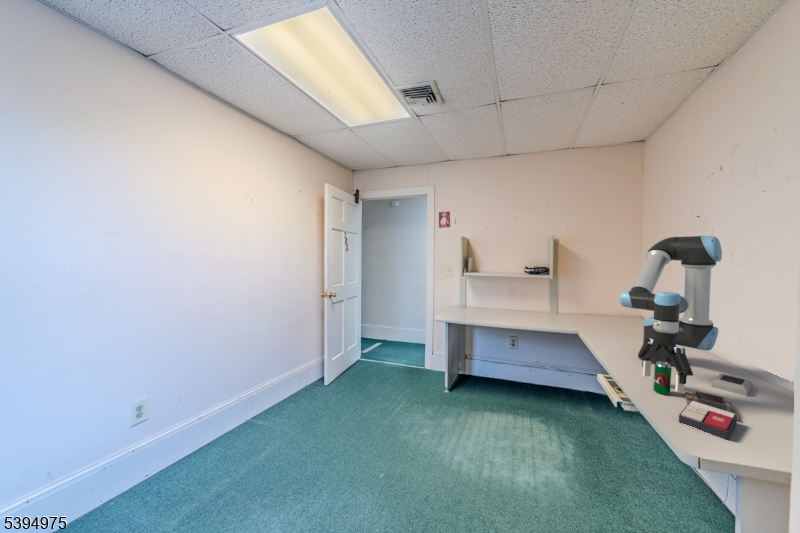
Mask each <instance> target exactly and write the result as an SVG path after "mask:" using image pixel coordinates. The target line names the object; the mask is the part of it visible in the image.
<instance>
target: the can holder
mask: <svg viewBox="0 0 800 533" xmlns="http://www.w3.org/2000/svg"><path fill="white" fill-rule="evenodd" d="M684 396H685V400H686V406H687V405H688V404H689V402H690V401H695V402H698V403H701V404H704V405H708V406H711V407H714V408H718V409H721V410H724V411H727V412H731V413H734V414H735V415H737V423H740V417H739V416H738V414H737V412H736V410H735V408H734V407H733V404H732V403H731V402H730V401H728V400H727V397H726V396H720V395H717V394H711V393H708V392H703V391H699V390H698V391H697V390H694V389H692V390H691V392H687V391H684Z"/></svg>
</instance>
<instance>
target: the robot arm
mask: <svg viewBox="0 0 800 533" xmlns="http://www.w3.org/2000/svg"><path fill="white" fill-rule="evenodd" d="M721 246H722V244H721V242H720V240H719V238H718V237H717V236H714V235H695V236H694V235H693V236H690V235H689V236H669V237H667V238H663V239H661V240H659V241H658V242H656V243H655V244H653V245H652V246H651V247H649V249H648V250H647V252H646V254H645V257H644V258H645V261H644V263H643V265H642V267H641V269H640V271H639V273H638V274H637V276H636V279H635V280H634V282H633V284H632V286H631V289H630V290H623V291H621V292H620V296H619V302H620V306H622V307H623V308H629V309H634V310H635V309H636V310H645V311H651V312H653V316H648V317H646V318H644V321H643V322H644V323H643V340H642V341H643V342H642V345H641V347H640V349H639V351H638V354H637V357H638V359H639V360H641V361H642V362H641V363H642V365H641V366H642V376H643V377H644V378H645V377H651V373H652V372H651V371H652V370H651V369H652V364H654V365H655V363H656V361H662V362H666V363H669V364H671V365H670V366H671V367H672V366H674V369H675V370H676V372H677V373H676V374H675V375H676V376H675V387H674V391H675V392H677V393H681V392H684V393H685V385H686V384H687V377H688V376H690V377H691V376H694V372H693V370H692V367H691V365H690V362H689V360H688V358H687V355H686V349H685V347H686V348H691V349H695V350H700V351H701V350H702V351H707V352H708V351H711V350H713V349H714V346H715V344H716V343H717V339H718V335H719V328H718V327H717V326H714V321H712V320H711V319H710V305H711V304H710V303H711V302H710V299H711V280H712V268H714V267H716V266H717V263H718V262H721V261H722V258H723V256H722V254H723V251H722V247H721ZM671 261H680V266H682V267H683V268H685V269H684V294H683V295H684V296H683V295H681V294H680V293H678V292H672V291H657V292H655V293H653V292H654V289H655V287H656V285H657V283H658V281H659V279H660V277H661V275H662V272H663V271H664V268H665V266H666V265H668V264H669V263H670V262H671ZM680 314H683V316H681V317H680ZM677 346H682V347H677Z"/></svg>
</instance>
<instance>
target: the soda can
mask: <svg viewBox="0 0 800 533" xmlns="http://www.w3.org/2000/svg"><path fill="white" fill-rule="evenodd" d="M670 365H671V364H669V363H666V362H662V361H656V363H655V364H654V370H653V371H654V373H653V391H654V392H655V393H657V394H660V395H663V394H664V395H665V396H669V395H671V389H672V388H671V385H672V384H671V383H672V370H673V369H672V368H673V367H672V366H670Z"/></svg>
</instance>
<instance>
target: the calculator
mask: <svg viewBox="0 0 800 533" xmlns="http://www.w3.org/2000/svg"><path fill="white" fill-rule="evenodd" d="M737 416H738V414H737V415H735V414H734V413H731V412H727V411H724V410H721V409H718V408H714V407H711V406H708V405H704V404H701V403H698V402H695V401H690V402H689V404H688V405H687V404H686V406H685V407H684V409H683V410H682V411H681V412H680V413H679V415H678V423H679V422H680V423H679V424H681V423H683V424H686V425H689V426H692V427H695V428H697V429H699V430H698V431H700V430H702V431H701V432H703V431H704V432H703V433H706V432H707V433H706V434H708V433H710V434H709V435H711V434H712V435H711V436H714V435H715V436H714V437H717V436H718V437H717V438H719V437H720V438H719V439H722V438H723V440H726V441H729V440H730V437H731V435H732V434H733V432H734V430H735V429H736V426H737V423H738V422H737ZM683 424H682V425H683ZM686 425H685V426H686ZM689 426H688V427H689ZM692 427H691V428H692ZM695 428H694V429H695ZM697 429H696V430H697Z"/></svg>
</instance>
